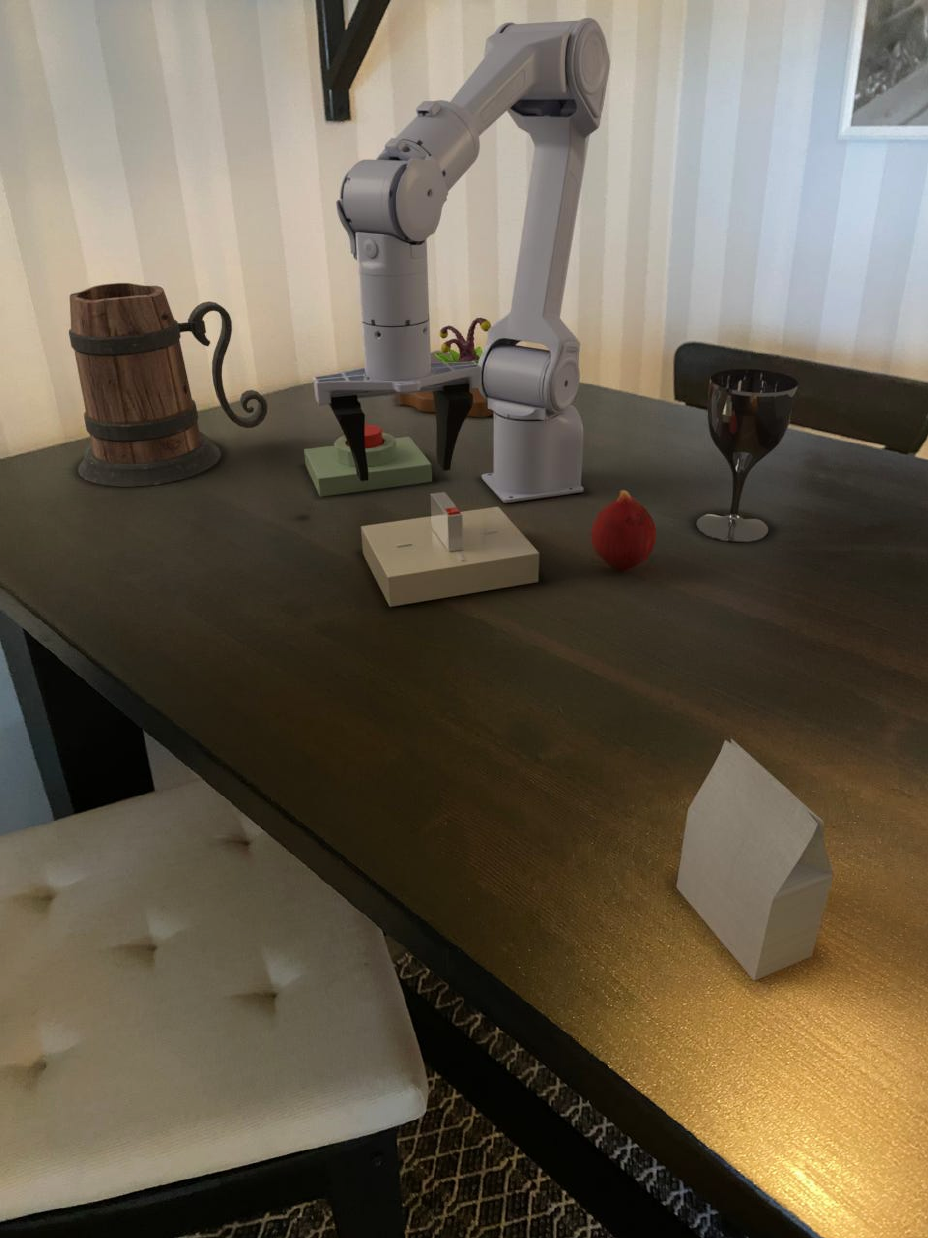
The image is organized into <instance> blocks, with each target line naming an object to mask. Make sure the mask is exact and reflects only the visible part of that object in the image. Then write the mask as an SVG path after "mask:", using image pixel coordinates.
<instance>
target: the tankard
mask: <svg viewBox="0 0 928 1238" xmlns="http://www.w3.org/2000/svg"><path fill="white" fill-rule="evenodd" d="M210 312H218V314H219V315H220V319H221V327H220V328H221V329H220V334H219V338H218V340H217V343H216V345H215V348H214V351H213V356H212V361H211V376H212V384H213V387H214V391H215V395H216V398H217V400H218V402H219V405H220V406H221V408H222V410H223V411H224V413H225V414H226V415H227V417H228V418H229V419H230V420H231V422H233V423H234V424H236V425H237V426H238V427H241V428H245V429H253V428H256V427H258V426H259V425H261V424H262V422H263V421H265V418H266V416H267V414H268V403H267V400H266V398H265V397H264V396H263V395H261V393H260V392H258V391H257V390H253V389H249V390H245V391H244V392H242V393H241V395H240V399H239V400H240V401H239V402H240V405H241V408H242V409H243V410H244V411H245V412H246V413H247V414H252V413H253V414H252V415H250V416H249V417H242V416H238V415H237V414H236V413H235V412H234V410H233V409H232V408H231V406H230V403H229V401H228V399H227V396H226V392H225V389H224V382H223V381H224V380H223V366H224V365H223V364H224V360H225V357H226V354H227V351H228V348H229V345H230V343H231V338H232V333H233V321H232V318H231V316H230V313H229V312H228V311H227V310H226V309H225V307H223V306H222V305H221V304H219V303H217V302H214V301H203V302H201V303H200V304H198V305H196V306H195V307H194V309H192V311H191V312H190V315H189V317H188V318H187V322H178V320H176V319H175V317H174V315H173V311H172V309H171V306H170V304H169V300H168V298H167V294H166V292H165V289H164V288H163V287H161V286H159V285H143V284H139V283H138V284H137V283H131V282H113V283H105V284H98V285H93V286H91V287H88V288H86V289H83V290H81V291H77V292H73V293H71V294H69V314H70V316H69V317H70V329H69V330H68V337H69V342H70V347H71V348H72V350H73V351H74V355H75V362H76V367H77V373H78V378H79V382H80V383H79V384H80V389H81V393H82V398H83V404H84V409H85V412H84V413H83V418H84V424H85V429H86V432H87V434H89V438H90V444H91V445H89V447H88V448H87V449H86V451H85V452H84V457H83V460H82V461H81V462H80V464H79V466H78V468H77V470H78V475H80V477H81V478H83V479H84V480H85V481H88V482H91V483H93V484H97V485H101V486H108V487H124V488H125V487H127V488H129V487H130V488H131V487H147V486H157V485H162V484H163V485H164V484H167V483H172V482H178V481H181V480H184V479H187V478H190V477H193V476H195V475H198V474H200V473H203V472H204V471H206V470H208V469H211V468H212V467H213V466H214V465H216V464H217V463H218V461H219V460H220V458H221V455H222V453H221V450H220V448H219V447H218V446H217V445H215V444H214V443H213V442H212V441H211V440H210V438H209V437H208V436H207V435H206V434H205V433H204V432H202V431H200V428H199V424H198V423H199V421H198V420H199V413H198V409H197V408H198V407H197V404H196V401H195V400H194V399H193V397H192V393H191V387H190V382H189V378H188V374H187V368H186V364H185V360H184V355H183V350H182V345H181V340H180V339H181V333H186V332H190V333H191V334H192V335H193V337H194V339H196V341H198V342H199V343H200V344H201V345H202V346H205V347H209V346H210V345H211V341H210V340H209V338H207V335H206V334H207V329H206V323H205V320H204V317H205V316H206V314H208V313H210ZM252 400H255V401H257V408H256V410H255V408H254V407H253V406H250V407H248V403H249V402H250V401H252ZM254 410H255V412H254Z"/></svg>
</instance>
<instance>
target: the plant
mask: <svg viewBox="0 0 928 1238" xmlns="http://www.w3.org/2000/svg"><path fill="white" fill-rule="evenodd" d="M478 324H479V327H480V328H481V330H482V331H484V332H485V333H488V330H489V328H490V327H492V324H491V322H490V320H488V319H487V318H484V317H476V318H475V319H474V320H472V322H471V324H470V326H469V327H468V329H467V334H466V339H465V338H464V336H463V334H462V333H461V331H460V330H459V329H457V328H456V327H454V326H453V325H447V326H443V327H442V328H441V329H440V330H439V333H438V334H439V337H440V338H441V339H446V338H448V336H449V331H451V332H452V334H455V335H454V336H455V337H456V338H450V339H449V340H446V341H444V342H443V343H442V344H441V346H440V350H441V353H437V352H434V356H435V357H437V359H439V360H440V361H442V362H472V361H475V362H476V363H477V364H478V362H479V359H480V357H481V355H482V353H483V348H482V346H477V347H476V348H475V330H476V326H477V325H478ZM448 330H449V331H448ZM452 344H455V345H456V346H457V348H458V351H459V352H457V351H456V350H454V349H452V346H451V345H452ZM445 354H449V356H450V357H448V356H447V355H445ZM469 392H470V393H471V394H473V405H472V408H471V409H470V411H469V413H468V415H467V417H469V418H476V419H484V418H487V417H491V416H494V411H493V410H491V409H488V400H487V399H485V398H484V397H483V396H482V395H481V393H480V391H479V388H478V389H469ZM397 404H398V405H399V406H407V407H412V408H415V409H417V410H418V411H419V412H422V413H429V414H430V413H431V414H435V405H434V397H433V391H426V392H417V393H407V394H398V395H397ZM467 417H466V418H467Z"/></svg>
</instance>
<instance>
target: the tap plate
mask: <svg viewBox="0 0 928 1238" xmlns="http://www.w3.org/2000/svg"><path fill="white" fill-rule="evenodd" d="M460 512H461V513H462V517H463V550H457V551H450V552H449V551H448V550H447V549H446V547H445V546H444V544H443V543H442V541H441V540H440V538H439V537H438V535H437V534H436V533H435V531H434V530H433V528H432V515H431V516H422V517H416V518H409V519H402V520H396V521H389V522H388V521H387V522H382V523H375V524H368V525H362V526H360V534H361V544H362V555H363V556H364V559H365V561H366V563H367V565H368V567H369V568H370V570H371V573H372V575H373V577H374V578H375V581H376V582H377V585H378V587H379V588H380V591H381V592H382V593H381V594H383V597H384V598H385V599H384V600H386V602H387V604H388V606H389V608H392V607H398V606H404V605H410V604H416V603H422V602H428V601H435V600H439V599H446V598H451V597H458V596H464V595H470V594H476V593H481V592H486V591H493V590H498V589H504V588H511V587H516V586H523V585H528V584H534V583H539V575H540V573H539V570H540V552H539V551H538V550H537V548H535V546H534V544H532V543H531V542H530V540H529V539H528V538H527V537H526V536H525V535H524V534H523V533H522V531H520V529H519V528H518V527H517V526H516V525H515V524H514V522H512V520H511V519H510V518H509V517H508V516H507V514H506V513H504V511H503V510H502V509H501V508H500V507H499V506H491V507H486V508H478V509H471V510H465V511H460Z"/></svg>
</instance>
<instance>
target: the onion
mask: <svg viewBox="0 0 928 1238" xmlns="http://www.w3.org/2000/svg"><path fill="white" fill-rule="evenodd" d="M590 539H591V545H592V547H593V549H594V551H595V554H596V555H597V556H598V557H599V558H600V559H601V560H602V561H603V562H604V563H605V564H607V566H609V567H610V568H611V569H612V570H613V571H615V572H617V573H623V572H625V571H628V570H631V569H632V568H635V567H637V566H639V565H640V564H642V563H643V562H645V561H646V560H648V558H649V557H650V555H651V554H652V552H653V550H654V548H655V545H656V540H657V527H656V523H655V521H654V519H653V516H652V515H651V514H650V512H649V511H648V510H647V509H646V508H645V507H644V505H642V504H641V503H640V502H639V501H637V500H635V498H634V497H632V496H631V495H630V492H629V491H627V490H625V489H621V490H620V491H619V495H618V498H617V499H616V500H613V501H612V502H610V503H608V505H606V506H605V507H603V508H602V509H601V510H600V512H599V513H598V514H597V516H596V517H595V520H594V521H593V524H592V526H591V531H590Z"/></svg>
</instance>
